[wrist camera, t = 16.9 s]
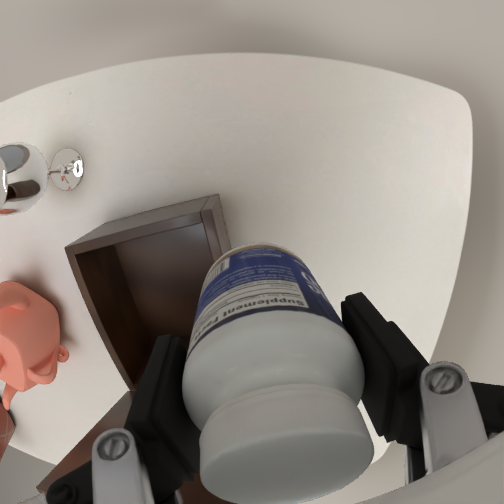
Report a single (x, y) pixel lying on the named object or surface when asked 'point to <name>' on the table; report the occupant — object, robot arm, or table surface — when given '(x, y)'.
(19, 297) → the teapot
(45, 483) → the lid
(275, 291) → the pill bottle
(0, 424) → the planter
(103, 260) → the chest
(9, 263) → the table surface
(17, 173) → the wineglass
